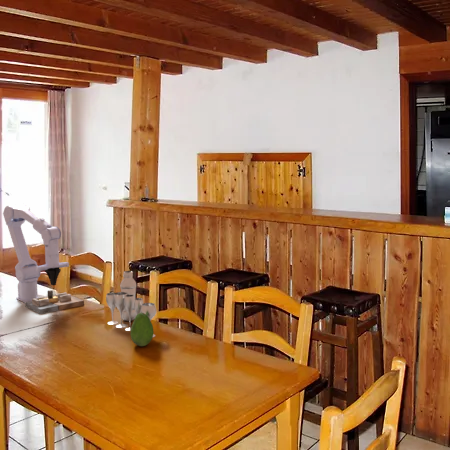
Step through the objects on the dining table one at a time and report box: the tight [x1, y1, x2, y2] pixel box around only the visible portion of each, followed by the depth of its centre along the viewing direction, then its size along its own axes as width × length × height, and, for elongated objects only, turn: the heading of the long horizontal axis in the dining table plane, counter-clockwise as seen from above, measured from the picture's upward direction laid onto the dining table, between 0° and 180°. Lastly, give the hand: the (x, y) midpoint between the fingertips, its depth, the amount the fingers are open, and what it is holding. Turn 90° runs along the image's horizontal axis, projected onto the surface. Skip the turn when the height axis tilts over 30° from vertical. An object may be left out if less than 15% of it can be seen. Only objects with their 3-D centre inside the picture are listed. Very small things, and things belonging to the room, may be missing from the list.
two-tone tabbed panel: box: [24, 292, 85, 315], centre depth 243 cm, size 20×15×4 cm
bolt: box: [39, 289, 58, 303], centre depth 241 cm, size 8×2×5 cm, turn 133°
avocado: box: [130, 313, 154, 347], centre depth 193 cm, size 8×8×12 cm
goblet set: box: [105, 291, 157, 338], centre depth 210 cm, size 28×6×13 cm, turn 47°
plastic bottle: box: [119, 270, 137, 322], centre depth 221 cm, size 6×7×20 cm
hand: (53, 284), depth 242 cm, fingers closed
